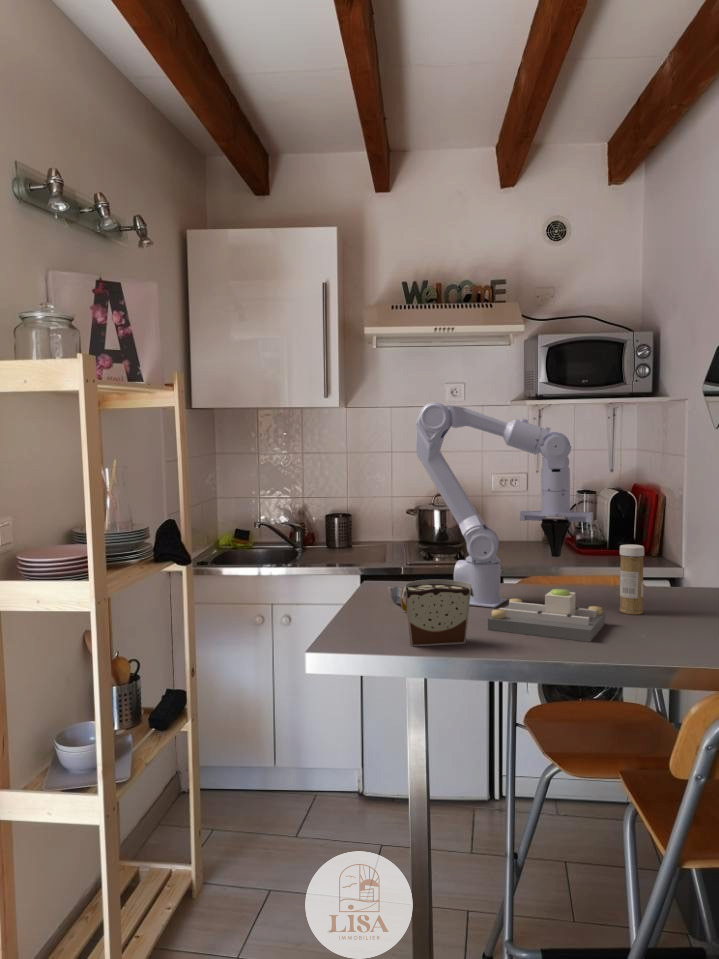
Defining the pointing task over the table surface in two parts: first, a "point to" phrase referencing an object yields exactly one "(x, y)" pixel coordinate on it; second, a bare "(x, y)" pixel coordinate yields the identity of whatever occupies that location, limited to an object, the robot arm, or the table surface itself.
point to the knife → (398, 596)
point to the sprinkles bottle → (631, 579)
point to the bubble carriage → (560, 602)
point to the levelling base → (547, 621)
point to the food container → (437, 611)
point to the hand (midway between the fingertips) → (556, 556)
